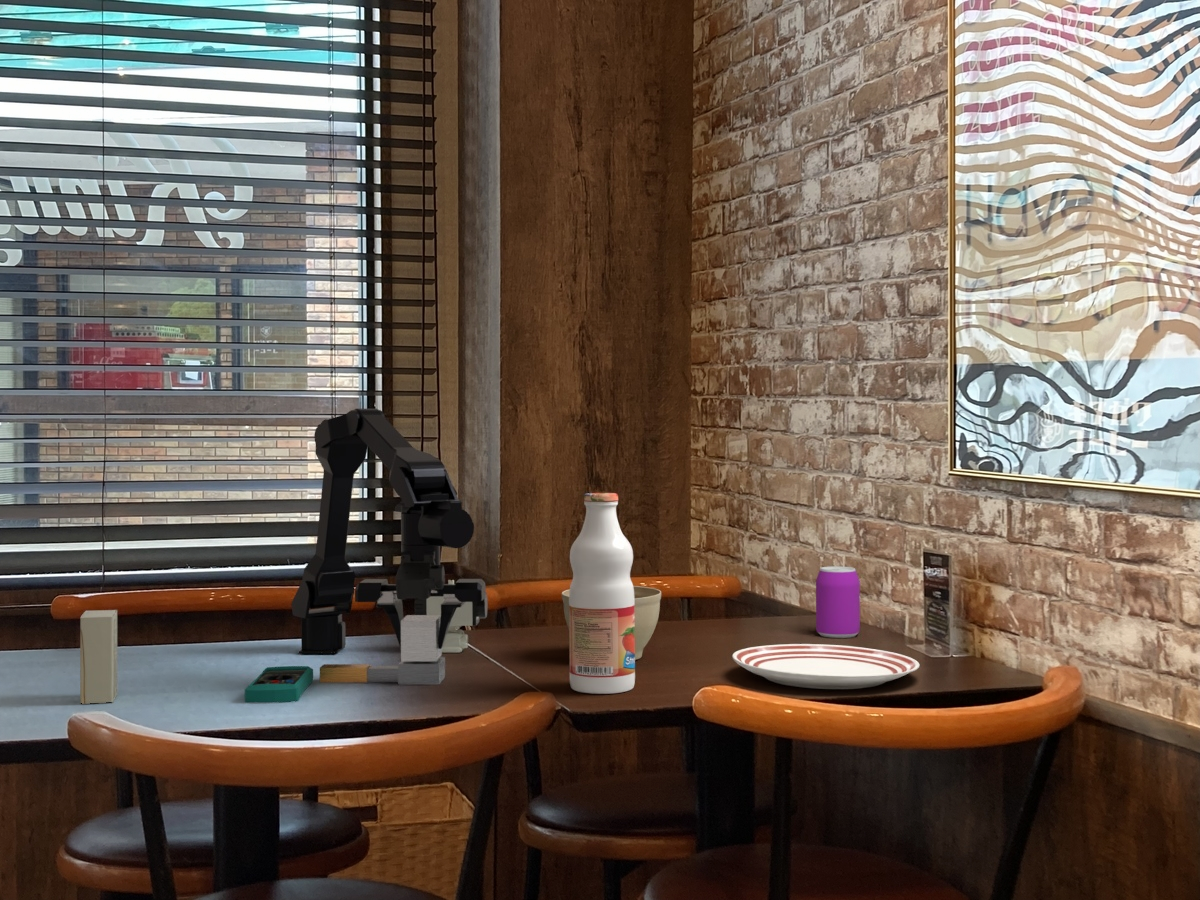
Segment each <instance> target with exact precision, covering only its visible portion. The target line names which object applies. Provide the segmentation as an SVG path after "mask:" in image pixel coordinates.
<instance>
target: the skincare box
mask: <svg viewBox="0 0 1200 900" xmlns="http://www.w3.org/2000/svg"><path fill="white" fill-rule="evenodd" d="M79 636H80V637H79V638H80V640H79V641H80V646H79V647H80V650H79V651H80V655H79V656H80V657H79V660H80V663H79V665H80V667H79V668H80V669H79V670H80V671H79V672H80V673H79V677H80V680H79V681H80V682H79V685H80V688H79V689H80V690H79V692H80V694H79V695H80V697H79V700H80V701H79V702H80V703H79V704H81V703H82V704H81V705H91V704H90V703H99V704H107V703H106V702H112V703H114V701H115V699H116V697H117V696H118V609H108V610H107V609H105V610H104V609H102V610H99V609H98V610H84V612H83V613H82V615H81V616H80V634H79Z"/></svg>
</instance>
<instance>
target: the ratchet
mask: <svg viewBox="0 0 1200 900" xmlns="http://www.w3.org/2000/svg"><path fill="white" fill-rule="evenodd" d="M445 678H446V657H445V656H440V658H439V659H438V660H437V661H400V662H399V663H398V664H397V665H371V664H370V663H369V664H367V663H363V664H362V663H361V664H360V663H359V664H358V663H357V664H355V663H351V664H349V663H348V664H340V663H338V664H337V663H336V664H334V663H333V664H328V663H327V664H322V665H321V666H320V667H319V683H398V686H399V685H404V686H406V685H408V686H409V685H410V686H411V685H412V686H414V685H415V686H416V685H417V686H418V685H419V686H420V685H422V686H423V685H425V686H426V685H429V686H431V685H432V686H433V685H434V686H438V685H440V684H441V683H442V681H443V680H444V679H445Z"/></svg>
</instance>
